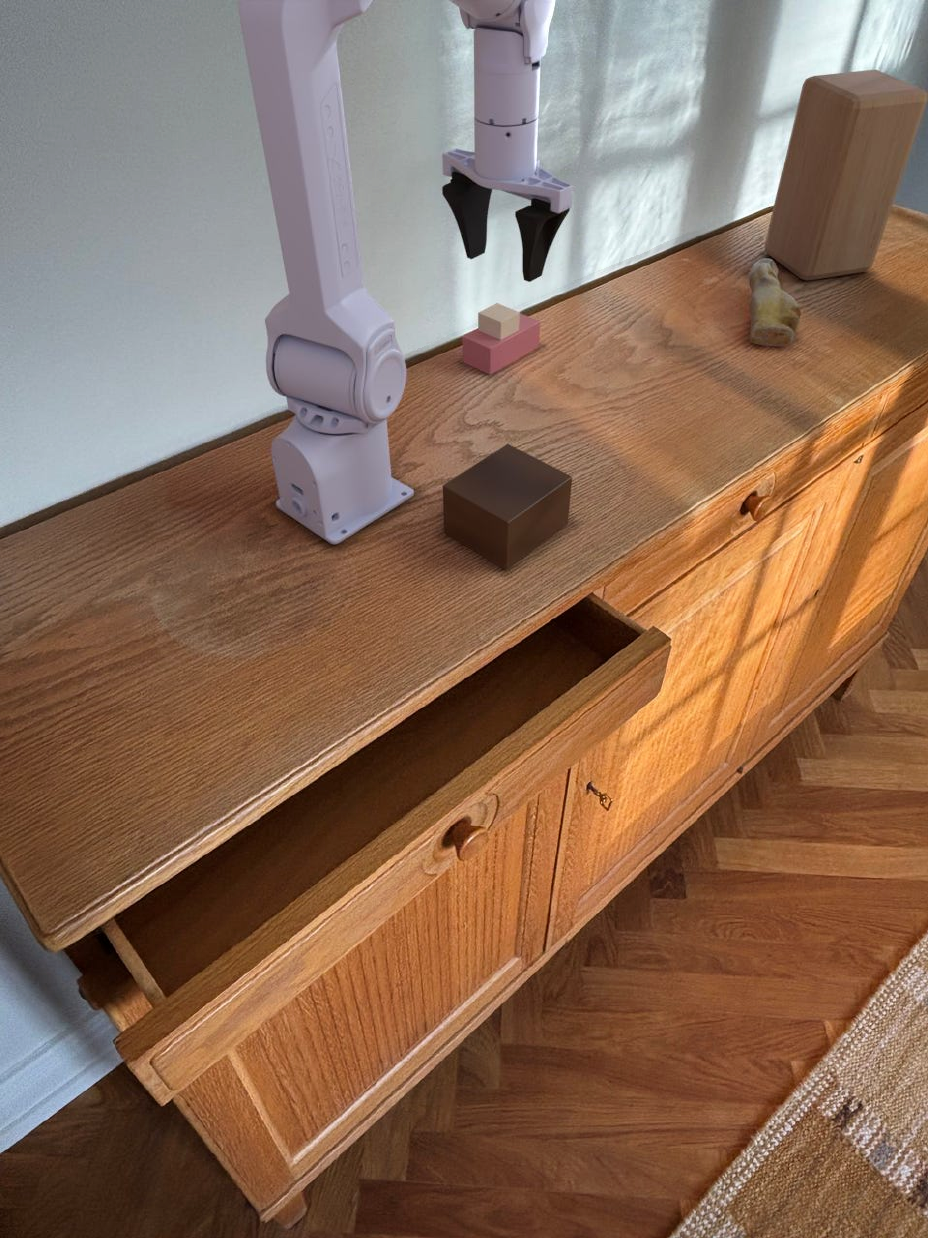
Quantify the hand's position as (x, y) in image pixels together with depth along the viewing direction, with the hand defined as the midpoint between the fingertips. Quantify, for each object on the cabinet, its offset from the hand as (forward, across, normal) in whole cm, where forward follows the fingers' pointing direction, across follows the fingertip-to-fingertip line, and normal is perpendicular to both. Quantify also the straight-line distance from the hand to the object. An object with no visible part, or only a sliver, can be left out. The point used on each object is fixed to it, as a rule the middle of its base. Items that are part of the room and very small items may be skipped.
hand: (503, 266), depth 87 cm
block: (+11, -14, -44) cm, 47 cm away
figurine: (+10, -17, -27) cm, 34 cm away
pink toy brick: (+10, 0, 0) cm, 10 cm away
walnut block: (+9, -20, +22) cm, 31 cm away
